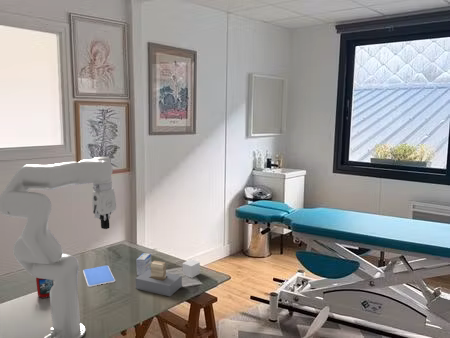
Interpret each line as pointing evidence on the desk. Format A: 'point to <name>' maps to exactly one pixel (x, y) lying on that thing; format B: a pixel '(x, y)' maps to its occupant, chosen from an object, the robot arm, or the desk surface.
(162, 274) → the wooden block
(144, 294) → the desk surface
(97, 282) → the tablet computer
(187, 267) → the white cube
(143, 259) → the medicine box
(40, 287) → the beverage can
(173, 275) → the grey slotted block
